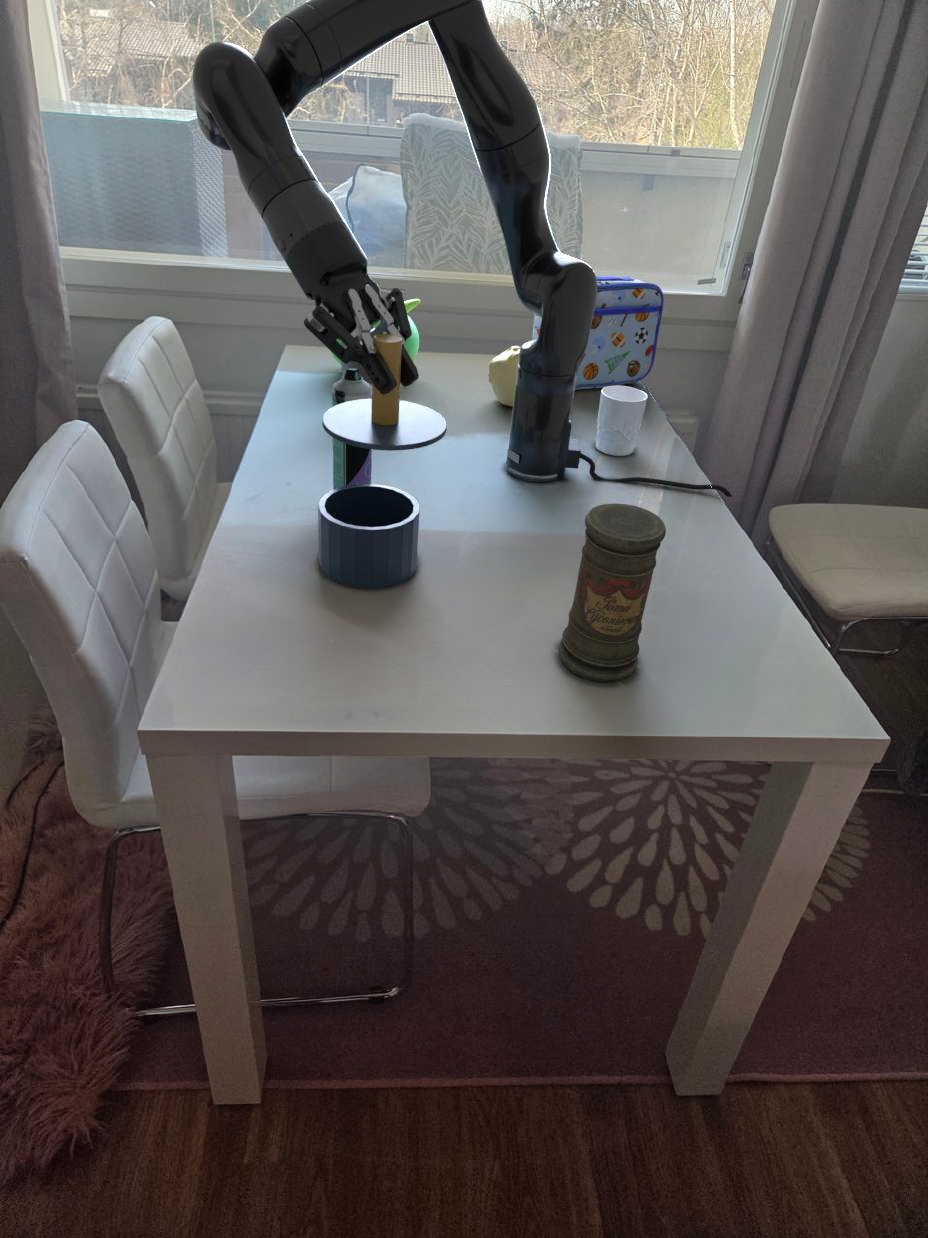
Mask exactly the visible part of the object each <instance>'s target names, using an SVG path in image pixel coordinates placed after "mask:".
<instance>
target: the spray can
mask: <svg viewBox="0 0 928 1238" xmlns="http://www.w3.org/2000/svg"><path fill="white" fill-rule="evenodd" d="M331 393H332V394H331V395H332V397H331V399H332V400H331V401H332V407H333V406H335V405H338V404H341V403H344V402H348V401H353V400H360V399H372V386H371V384H369V383H367V382H365V381H364V380H363V377H361V375H360V374H359V368H357V367H354V368H350V369H346V374H345V375H344V376H343V377H342V376H341V379H340V380H338V381H337V380H336V381H335V382H334V383H333V384H332V390H331ZM372 452H373V449H366V448H361V447H356V446H352V445H349V444H346V443H343V442H341V441H339V440H337V439H335V438H333V437H332V486H333V487H332V488H333V489H332V490H334V489H336V488H339V487H343V486H348V485H355V484H372V463H373V462H372V461H373V460H372V459H373V458H372V457H373V456H372V454H373V453H372Z"/></svg>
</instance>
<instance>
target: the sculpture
mask: <svg viewBox="0 0 928 1238" xmlns="http://www.w3.org/2000/svg"><path fill="white" fill-rule="evenodd" d="M520 348H521V346H519V345H512V346H510V347H509V348H507V349H506V350H505V351H503V352H501V353H500V354H499V355H496V356H495V357H493V358H491V360H490V362H489V363H488V373H487V375H488V382H489V384H490V386H491V388H492V391H493V393H494V396H495V397H496V399H497V400H498V402H499V403H500V404H502V405H504V406H508V407H513V403H514V394H515V385H516V376H517V367H518V359H519V351H520Z"/></svg>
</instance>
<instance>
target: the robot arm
mask: <svg viewBox="0 0 928 1238" xmlns="http://www.w3.org/2000/svg"><path fill="white" fill-rule="evenodd" d="M425 23H427V25H428V27H429V29H430V32H431V34H432V36H433V38H434V40H435V43H436V46H437V48H438V50H439V52H440V55H441V57H442V60H443V63H444V65H445V68H446V71H447V74H448V77H449V80H450V83H451V86H452V89H453V91H454V95H455V98H456V101H457V103H458V106H459V108H460V111H461V115H462V117H463V120H464V124H465V126H466V131H467V133H468V137H469V140H470V143H471V147H472V150H473V153H474V155H475V158H476V162H477V164H478V167H479V170H480V173H481V176H482V178H483V180H484V181H483V182H484V183H485V186H486V188H487V191H488V194H489V197H490V201H491V204H492V207H493V210H494V213H495V216H496V220H497V222H498V224H499V228H500V230H501V233H502V237H503V241H504V244H505V249H506V253H507V258H508V263H509V267H510V271H511V276H512V280H513V285H514V289H515V292H516V296H517V298H518V300H519V302H520V303H521V305H522V307H523V308H524V309H525V310H526V311H527V312H528V313H530V314H532V315H534V317H535V316H538V317H540V318H542V320H541V326H540V331H539V335H538V339H537V340H532V339H531V340H529V341H525V342H524V343H523V344H522V345H521V346H520V347H521V348H520V351H519V359H518V367H517V376H516V385H515V394H514V403H513V406H512V413H511V421H510V429H509V439H508V448H507V454H506V461H505V470H506V471H507V473H509V475H511V476H513V477H515V478H517V479H519V480H523V481H527V482H533V483H534V482H535V483H549V482H553V481H556V480H557V481H558V480H560V481H563V480H564V479H565V472H566V469H577V470H578V469H579V465H580V461H581V460H583V461H585V462H587V463H588V465H589V476H591V478H593V479H594V480H596V481H599V482H600V481H601V482H611V483H622V484H623V483H624V484H625V483H646V484H651V485H660V486H667V487H675V488H680V489H681V488H682V489H687V490H688V489H689V490H696V491H697V490H698V491H704V490H716V491H719V492H721V493H722V494H724V495H725V497H728V498H731V497H733V495H732V494H731V492H730V491H729V490H728V489H727V488H726V487H724V486H723V485H720V484H715V483H714V484H713V483H712V484H711V483H710V484H709V483H708V484H695V483H694V484H693V483H686V482H679V481H672V480H666V479H658V478H653V477H652V478H651V477H643V476H642V477H641V476H631V477H630V476H629V477H622V478H605V477H602V476H600V475H598V474H597V473H596V463H595V462H594V460H593V459H592V458H590V456H588V455H586V454H584V453H582V450H581V447H580V442H579V439H577V438H571V434H572V428H573V423H572V419H571V418H572V411H573V404H574V400H575V399H574V398H575V391H576V390H575V386H576V379H577V373H578V367H579V362H580V360H581V358H582V356H583V354H584V352H585V350H586V347H587V344H588V339H589V334H590V330H591V325H592V320H593V315H594V311H595V305H596V299H597V279H596V276H597V275H596V273H595V271H594V269H593V268H592V266H591V265H590V264H588V263H587V262H584V261H582V260H580V259H577V258H575V257H572V256H570V255H567V254H564V253H562V252H561V251H560V249H559V247H558V245H557V243H556V241H555V237H554V236H553V232H552V229H551V226H550V222H549V219H548V214H547V195H548V190H549V183H550V176H551V165H552V164H551V163H552V161H551V153H550V147H549V142H548V138H547V136H546V131H545V127H544V125H543V121H542V117H541V113H540V110H539V107H538V105H537V102H536V100H535V97H534V95H533V94H532V92H531V90H530V89H529V87H528V85H527V83H526V82H525V81H524V79H523V77H522V76H521V74H520V72H518V70H517V68H516V67H515V66H514V64H513V63H512V61H511V60H510V59H509V57H508V56H507V55H506V53H505V51H504V50H503V49H502V47H501V45H500V43H499V42H498V41H497V39H496V36H495V35H494V32H493V30H492V28H491V25H490V23H489V20H488V17H487V13H486V11H485V7H484V4H483V0H307V1H306V2H304V3H303V4H300V5H299V6H298V7H296V8H294V9H293V10H291V11H289V12H288V13H287V14H284V15H283V16H282V17H280V18H278V19H277V20H275V21H274V22H273V23H272V24H270V26H268V28H266V29H265V31H264V32H263V35H262V36H261V37H262V38H261V41H260V44H259V47H258V50H257V52H256V53H255V55H254V56H253V55H252V54H251V53H249V52H248V51H247V50H246V49H245V48H243V47H242V46H240V45H238V44H236V43H233V42H229V41H222V40H221V41H215V42H211V43H209V44H207V45H206V46H204V47H203V48H202V49H201V51H199V53H198V55H197V56H196V58H195V60H194V63H193V68H192V88H193V96H194V103H195V111H196V119H197V123H198V126H199V128H200V130H201V132H202V134H203V135H204V137H205V139H207V141H208V142H210V143H211V144H212V145H213V146H215V147H216V148H219V149H221V150H224V151H228V152H229V151H230V152H231V153H232V155H233V158H234V161H235V164H236V169H237V174H238V177H239V179H240V183H241V184H242V187H243V189H244V190H245V192H246V194H247V196H248V198H249V199H250V201H251V202H252V204H253V206H254V207H255V209H256V211H257V212H258V214H259V216H260V217H261V220H262V221H263V223H264V225H265V227H266V229H267V231H268V234H269V236H270V238H271V240H272V242H273V244H274V245H275V247H276V249H277V250H278V252H279V254H280V256H281V257H282V259H283V260H284V262H285V263H286V266H287V268H288V269H289V270H290V272H291V274H292V276H293V277H294V278H295V280H296V283H298V286H299V287H300V288H301V290H302V292H303V294H304V295H305V297H306V298H307V299H309V300H311V301H314V305H315V307H314V308H313V310H312V311H311V312H310V313H309V314H308V315H307V317H305V319H304V320H303V325H304V327H305V328H306V329H307V330H308V331H309V332H310V333H311V334H312V335H313V336H314V337H316V338H317V339H318V340H319V342H321V343H322V344H323V345H324V346H325V347H326V348H327V349H328V350H329V351H330V353H331V352H333V353H334V354H335V355H336V356H337V357H338V358H339V359H340V360H341V361H342V362H343V363H345V364H348V363H349V362H350V361H352V362H356V363H357V364H358V365H361V366H363V368H364V370H365V371H366V373H367V375H368V376H369V378H370V380H371V381H372V383H373V385H374V386H375V388H376V389H377V390H378V391H380V393H381V394H383V395H384V394H387V393H389V392H391V391H392V390H393V389H394V388H395V387H396V386H397V381H396V379H395V377H394V376H393V374H392V372H391V371H390V369H389V367H388V366H387V364H386V362H385V361H384V359H383V357H382V355H381V354H380V353H378V354H376V352H377V348H376V346H375V344H374V341H373V337H374V336H375V335H378V334H383V332H384V331H385V332H386V333H387V334H392V335H397V336H399V337H401V338H402V351H401V376H400V385H402V387H404V388H405V387H409V386H412V384H414V383H415V382H416V381H417V380H418V379H419V378H420V377H419V376H420V375H419V371H418V368H417V366H416V365H415V363H414V361H412V359H411V358H410V356H409V354H408V353H407V351H406V349H405V347H404V343H405V341H406V340H407V339H408V338H409V337H410V336H411V335H412V331H411V327H410V323H409V319H408V316H409V315H408V313H407V311H406V308H405V304H404V301H405V300H404V296H403V293H402V291H401V290H400V289H399V288H398V287H394V288H393V289H392V290H391V291H387V290H383V289H381V288H380V286H379V285H378V283H376V281H375V280H374V279H372V278H371V276H370V275H369V273H368V257H367V255H366V254H365V252H364V250H363V248H362V247H361V244H359V242H358V240H357V239H356V237H355V235H354V233H353V232H352V230H351V229H350V227H349V225H348V223H347V221H346V220H345V219H344V217H343V214H342V213H341V212H340V210H339V208H338V206H337V205H336V203H335V201H334V200H333V198H332V197H331V196H330V195H329V194H328V192H327V191H326V190H325V188H324V187H323V186H322V184H321V183H320V181H319V180H318V177H317V176H316V174H315V172H314V171H313V168H311V166H310V164H309V162H308V160H307V158H305V156H304V155H303V153H302V151H301V150H300V149H299V147H298V146H297V143H296V141H295V138H294V137H293V134H292V132H291V128H290V126H289V124H288V120H287V118H288V117H289V116H290V115H291V114H292V113H293V112H294V111H295V110H296V109H297V107H298V106H299V105H300V104H301V103H302V101H303V100H305V98H306V97H308V96H309V95H311V94H312V93H315V92H316V91H318V90H319V89H321V88H322V87H324V86H325V85H327V84H328V83H330V82H331V81H333V80H334V79H336V78H338V77H339V76H341V75H342V74H343V73H345V72H347V71H348V70H349V69H351V68H352V67H353V66H356V64H358V63H360V62H361V61H362V60H363V61H364V60H365V58H367V57H369V56H370V55H372V54H374V53H375V52H377V51H379V50H380V49H382V48H383V47H385V46H386V45H388V44H389V43H391V42H393V41H394V40H397V38H399V37H402V36H403V35H404V34H406V33H408V32H410V31H412V30H414V29H415V28H417V27H420V26H421V25H424V24H425ZM379 320H380V324H379V325H378V326H377V327H376V328H374V327H373V326H374V325H375V324H376V323H377V322H378V321H379ZM398 326H399V328H400V330H398ZM336 339H340V340H341V341H342V342H343V343H344V345H345V346H347V348H346V349H345V348H343V347H342V346H341V345H340V344H339V343H338V342H337V340H336ZM360 341H361V342H362V344H363V345H361V344H360ZM710 485H711V486H712V488H711V486H710Z"/></svg>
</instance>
